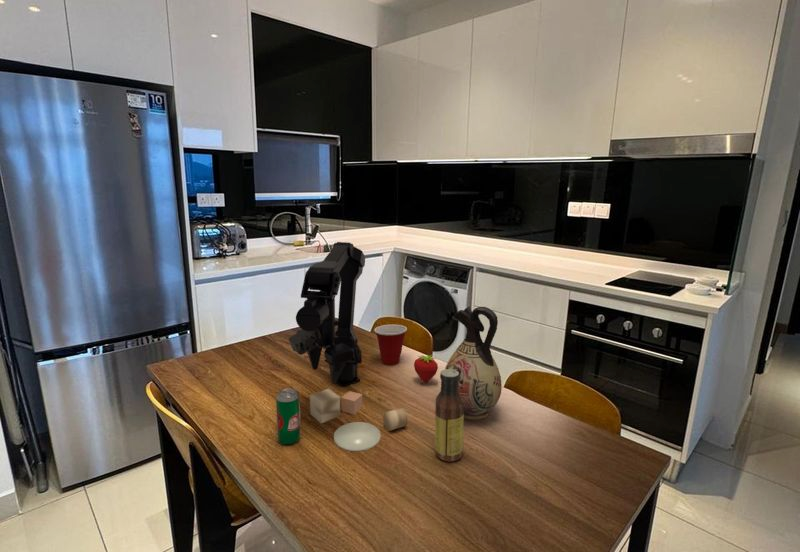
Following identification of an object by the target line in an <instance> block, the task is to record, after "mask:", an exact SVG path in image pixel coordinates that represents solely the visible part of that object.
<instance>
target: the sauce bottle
mask: <svg viewBox="0 0 800 552" xmlns="http://www.w3.org/2000/svg"><path fill="white" fill-rule="evenodd" d="M439 375H440V376H439V377H440V392H439V393H437V394H438V395H436V398H435V411H434V450H435V453H436V454H435V455H436V457H438V458H439V459H440V460H442V461H444V462H448V463H449V462H450V463H451V462H456V461H458V460H460V459H461V458H462V455H463V449H464V420H465V418H464V411H463V402H462V400H461V398H460V395H459V392H458V391H459V389H458V380H459V372H458V371H456V370H453V369H445V368H444V369H442V370H441V371H440V374H439Z"/></svg>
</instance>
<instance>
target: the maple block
mask: <svg viewBox="0 0 800 552" xmlns="http://www.w3.org/2000/svg"><path fill="white" fill-rule="evenodd" d="M309 415H311V416H312V417H313V418H314V419H315V420H316V421H318V422H319V423H320V424H323V423H326V422H328V421H331V420H333V419H336V418H339V417H340V416H341V397H340V395H338V394H337V393H335V392H334V391H332V389H330V388H326V389H324V390H320V391H317V392H315V393H312V394H310V395H309Z"/></svg>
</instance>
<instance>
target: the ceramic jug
mask: <svg viewBox="0 0 800 552" xmlns="http://www.w3.org/2000/svg"><path fill="white" fill-rule="evenodd" d="M481 315H482V316H484V317H485V318H487V320H488V321H489V327H488V330H487V333H486V337H485V339H484V341H483V339H482V336H481V333H484V331H485V325H484V323H483V322H482V321H481V319H480V316H481ZM451 317H452V319H453V320H455V321H457V322H459V323H460V324H462V325H463V326H464V327H465V328H466V335H465V338H464V339H463V340H462V342H461V343H460V344H459V345H458V347H457V348H456V349H455V351H454V352H453V353H452V355H451V356H450V358H449V359H448V361H447V364H446V365H445V368H444V370H445V369H453V370H456V371H458V372H459V380H458V389H459V391H458V392H459V395H460V398H461V400H462V402H463V411H464V419H465V418H467V419H466V420H481V419H486V418H487V417H488V416H489V413H490V411H491V410H492V409H493V408H494V407H495V406H496V405H497V404H498V402H499V401H500V397H501V394H502V389H503V388H502V387H503V386H502V377H501V373H500V371H499V367H498V365H497V362H496V361H495V358H494V357H493V355H492V352H491V344H492V342H493V339H494V337H495V335H496V333H497V329H498V322H499V321H498V316H497V314H496V312H495V311H493V310H492V309H491V308H489V307H486V306H478V307H475V308H474V309H473V310H472V309H471V306H467V308H465V309H464V310H463V309H460V310H458V311H457V312H455V314H454V315H453V316H451ZM480 332H481V333H480Z"/></svg>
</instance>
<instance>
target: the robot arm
mask: <svg viewBox="0 0 800 552" xmlns="http://www.w3.org/2000/svg"><path fill="white" fill-rule="evenodd" d="M365 264H366V256H365V254H364V253H363V251H362V250H361V249H360V248H357V247H356V246H354V244H353V243H351V242H347V241H345V242H343V241H337V242H334V243H333V247H332V248H331V250H330V251H329V252H328V253H327V255H326V256H325V258H324V259H323V260H322V261H320V262H315V263H313V264H312V265H310V266H309V268H308V269H307V270H306V272H305V274H304V280H303V283H302V288H301V292H300V298H301V299H305V300H304V301H303V306H302V307H301V308H300V309H299V310H298V311H297V313H296V314H295V315H296V316H295V322H296V324H297V326H298V327H299V328H300V329H299V330H298V331H296V333H295V334H293V335H291V336H290V337H289V338H288V342H289V344H290V347H291V349H292V352H296V353H297V354H298V355H299V356H300V355H301V356H302V355H305V354H307V356H308V359H309V361H310V365H311V367H312V370H313V371H316V370H318V368H319V364H320V360H321V356H322V350H323V349H324V351H323V352H324V353H323V354H324V355H323V356H324V358H325V359H323V360H324V362H325V363H326V364H328V366H329V372H330V373H329V374H330V382H331V383H332V384H334V383H337V384H338V385H340V386H341V387H346V386H348V385H351V384H354V383H357V382H360V381H361V378H360V377H359V376H358V365H359V364H361V363H362V358H363V357H362V350H361V348H360V346H359V345H358V343H359V341H358V336H356V332H355V331H354V321H355V304H356V293H357V292H356V290H357V281H358V280H359V279H360V277H361V275H362V274H363V269H364V267H365V266H366V265H365ZM339 289H340V290H339ZM338 294H339V301H338V303H339V304H338V315H337V316H338V317H337V319H336V302H335V301H336V296H338ZM336 327H337V329H336Z"/></svg>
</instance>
